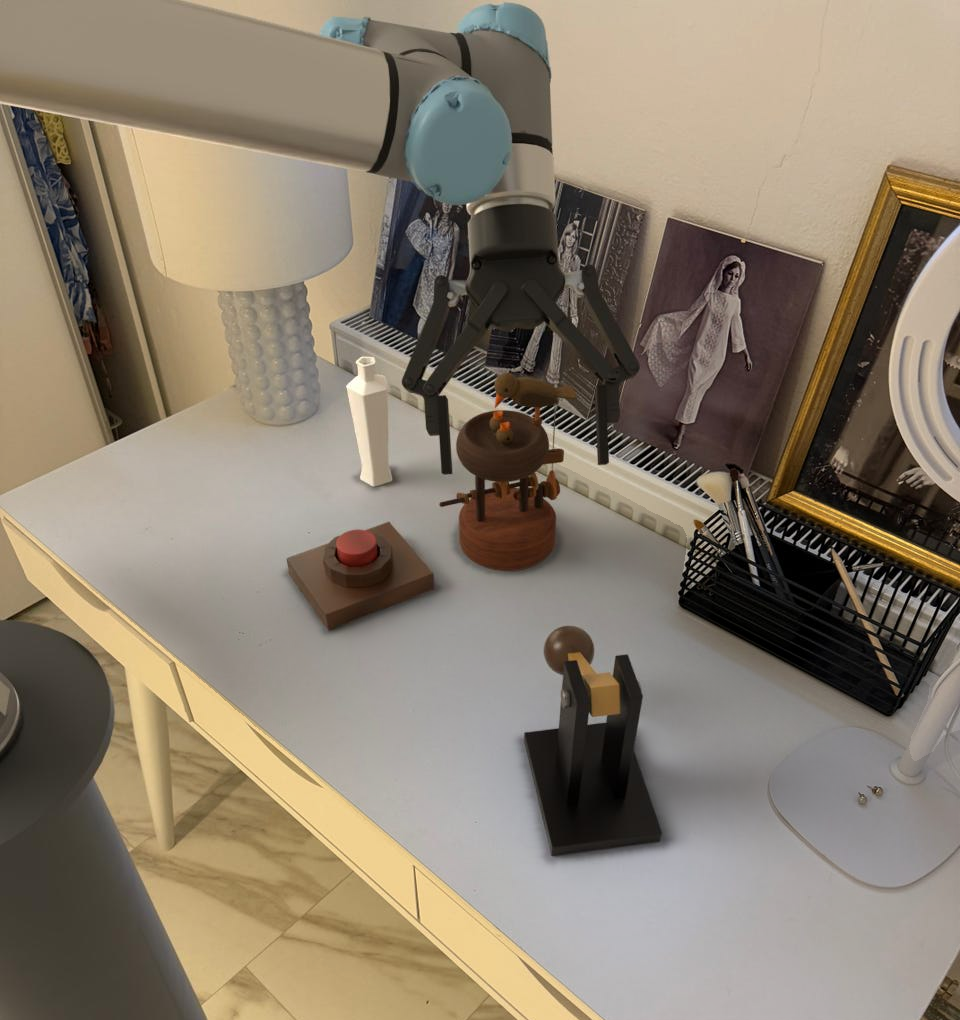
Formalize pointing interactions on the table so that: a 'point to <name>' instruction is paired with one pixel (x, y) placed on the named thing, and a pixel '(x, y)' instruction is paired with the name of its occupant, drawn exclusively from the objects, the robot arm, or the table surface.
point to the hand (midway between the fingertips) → (524, 469)
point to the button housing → (360, 578)
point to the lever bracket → (592, 770)
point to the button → (356, 548)
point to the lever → (583, 668)
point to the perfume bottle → (370, 421)
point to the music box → (510, 478)
